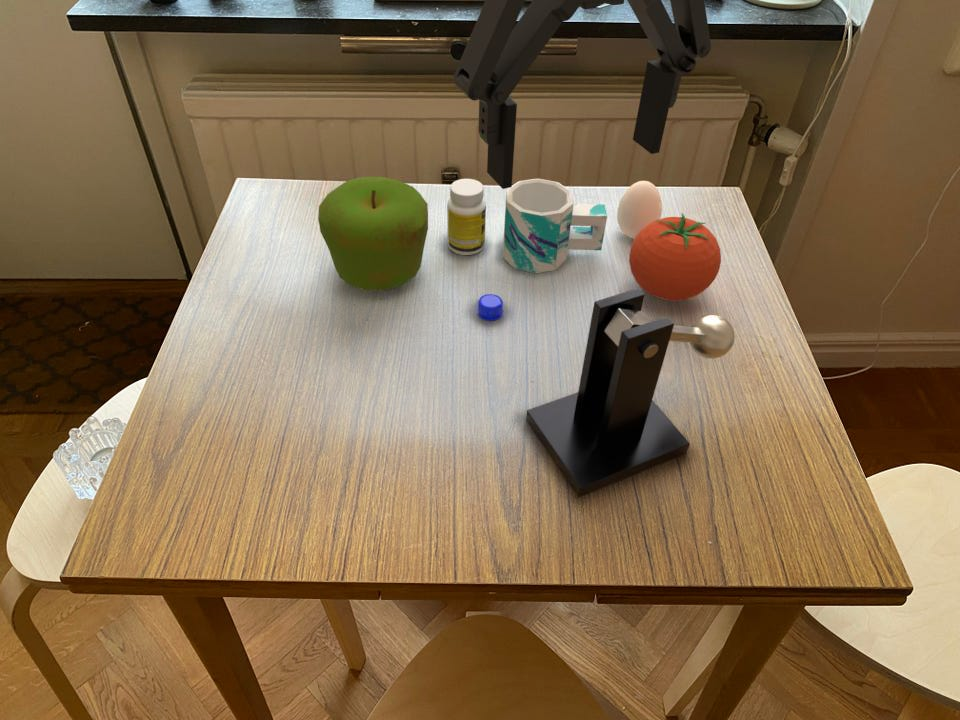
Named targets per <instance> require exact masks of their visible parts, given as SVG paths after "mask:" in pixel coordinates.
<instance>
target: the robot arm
mask: <svg viewBox="0 0 960 720" xmlns="http://www.w3.org/2000/svg"><path fill="white" fill-rule="evenodd" d="M526 1H527V0H484V3H483V5H482V8H481V10H480V12H479V15H478V17H477V19H476V22H475V24H474V26H473V29H472V31H471V34H470V36H469V39H468V41H467V43H466V46H465V48H464V50H463V53H462V55H461V58H460V59H459V62H458V64H457V67H456V69H455V71H454V74H453V77H452V80H453V81H452V82H453V84H454V86H456V87H457V88H458V89H459V90H460V91H461V92H462V93H463V94H464V95H465V96H467V98H469V99H470V100H471V101H475V102H476V101H478V134H479V137H480V139H481V140H482V141H483V142H484V143H485V144H486V145H487V161H486V162H487V163H486V173H487V174H488V175H489V176H490V177H491V178H492V179H493V181H494V182H495V183H496V184H497V185H498V186H499V187H500V188H501V189H502V190H505V189H506V190H507V189H508V188H510V187H512V186H513V172H514V155H515V141H516V126H517V112H518V111H517V110H518V103H517V102H516V101H514V100H513V99H512V98H511V97H510V96H511V94H512V93H513V92H514V90H515V89H516V87H517V85H519V83H520V82H521V80H522V79H523V78H524V77H525V75H526V73H527V72H528V70H529V69H530V68H531V66H532V65H533V63H535V61H536V60H537V58H538V57H539V56H540V54H541V53H542V51H543V50H544V49H545V47H546V46H547V44H548V43H549V41H550V40H551V39H552V37H553V36H554V35H555V33H556V32H557V31H558V29H559V27H560V26H561V25H562V24H563V23H564V22H566V21H569V20H570V19H572V18H573V16H574V15H575V13H576V12H577V11H578V9H579V8H581V9H583V10H592V9H596V8H598V7H601V6H602V5H605V4H606V5H610V6H618V5H619V6H620V5H624V4H625V0H532V1H531V3H530V4H529V5H528V7H527V8H526V10H525V11H524V13H523V14H522V15H521V17H520V18H519V16H520V14H521V12H522V9H523V7H524V5H525V3H526ZM626 1H627V3H628V4H629V6H630V8H631V10H632V12H633V14H634V15H635V17H636V19H637V21H638V23H639V24H640V26H641V28H642V30H643V32H644V34H645V35H646V37H647V39H648V41H649V43H650V45H651V46H652V47H653V50H654V51H655V53H656V55H657V57H658V58H659V59H660V61H658V60H656V59H652V60H648V61H647V62H646V67H645V72H644V77H643V84H642V88H641V93H640V99H639V103H638V108H637V115H636V120H635V126H634V131H633V136H632V140H633V142H634V143H637V144H638V146H641V148H643V149H644V150H645V151H646V152H648V153H649V154H650V155H655V154H658V153H659V154H660V150H661V145H662V141H663V137H664V132H665V127H666V123H667V118H668V115H669V109H671V108H673V107H674V106H675V103H676V101H677V98H678V94H679V88H680V84H681V80H682V76H683V74H684V75H690V74H691V73H692V72H693V71H694V70H695V68H696V67H697V60H696V58H697V57H698V58H700V59H704V58H706V57H707V56H708V55H709V54H710V52H711V49H712V43H711V37H710V30H709V23H708V16H707V10H706V2H705V0H669V1H670V2H669V3H670V8H671V12H672V17H673V21H672V19H671V17H670V15H669V13H668V11H667V9H666V7H665V5H664V3H663V1H662V0H626ZM518 18H519V19H518Z"/></svg>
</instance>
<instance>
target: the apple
mask: <svg viewBox="0 0 960 720" xmlns="http://www.w3.org/2000/svg"><path fill="white" fill-rule="evenodd" d="M317 216H318V217H317V219H318V220H317V221H318V226H319V231H320V234H321V236H322V238H323V240H324V242H325V244H326V246H327V249H328V250H329V254H330V257H331V260H332V263H333V266H334V269H335V271H336V273H337V275H338V277H339V278H340V279H341V280H342V281H343V282H345V283H346V284H347V285H348V286H350V287H352V288H357V289H360V290H364V291H387V290H389V289H393V288H396V287H399V286H402V285H403V284H405V283H407V282H409V281H411V280H412V279H414V278H415V277H416V276H417V274H418V272H419V270H420V269H421V267H422V262H423V261H422V260H423V255H424V250H425V245H426V240H427V235H428V230H429V207H428V202H427V201H426V200H425V199H424V197H423V195H422V194H421V193H420V192H419V191H418V190H417V188H415V187H414V186H412V185H410V184H408V183H405V182H404V181H401V180H399V179H393V178H389V177H384V176H362V177H357V178H352V179H347V180H346V181H344V182H343V183H342V184H340V185H339V186H337V187H335V188H334V189H333V190H331V191H330V192H328V193H327V194H326V195H325V197H324V198H323V200H322V201H321V203H320V204H319V205H318V215H317Z"/></svg>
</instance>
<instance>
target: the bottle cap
mask: <svg viewBox="0 0 960 720" xmlns="http://www.w3.org/2000/svg"><path fill="white" fill-rule="evenodd" d="M476 314H477V316H478V317H479V318H480V319H482V320H484V321H487V322H494V321H498V320H500V318H502V317H503V315H504V301H503V299H502V298H501V296H499V295H497V294H495V293H487V294H484V295H482V296H481V297H479V299H478V301H477V308H476Z"/></svg>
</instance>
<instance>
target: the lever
mask: <svg viewBox="0 0 960 720" xmlns="http://www.w3.org/2000/svg"><path fill="white" fill-rule="evenodd" d="M649 322H652V321H651V319H649V317H647V315H646V314H645V313H644V312H642V310H641V311H637V310H628V309H620V308H618V310H617V311H616V313H615V314H614V316H613V318H612V319H611V321H610V322H609V324H608V326H607V327H606V329H605V330H604V331H605V333H606V334H607V335H608V336H609V337H610V338H611V339H612V340H613V342H614V343H615V344H616V345H617V346H619V341H620V337H621V332H622V331H625V330H628V329H631V328H634V327H637V326H640V325H643V324H646V323H649ZM669 342H677V343H689V345H690V348H691V349H692V350H693V351H694V353H695V354H697V355H698V356H699V357H702V358H704V359H710V360H713V359H718V358H721V357H723V356H725V355H727V354H728V353H729V352H730V350H731V349H732V348H733V346H734V343H735V331H734V327H733V326H732V324H731V323H730V321H728V320H727V319H726V318H724V317H722V316H720V315H716V314H708V315H703V316H701V317H699V318H698V319H697V320H695V321H694V322H693V324H692V325H691V326H687V325H686V326H685V325H678V324H677V325H676V324H674V327H673V330H672V333H671V337H670V340H669Z"/></svg>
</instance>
